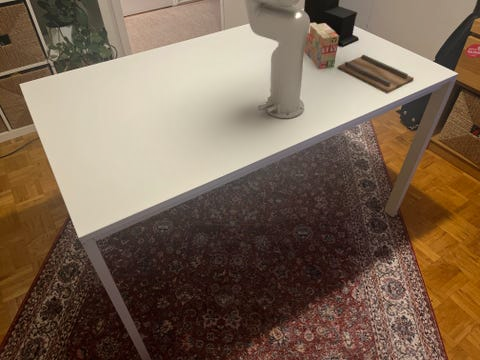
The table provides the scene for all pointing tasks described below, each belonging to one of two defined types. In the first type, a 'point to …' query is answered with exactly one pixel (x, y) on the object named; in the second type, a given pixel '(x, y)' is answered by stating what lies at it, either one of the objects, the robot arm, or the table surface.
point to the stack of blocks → (321, 45)
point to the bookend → (333, 18)
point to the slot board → (376, 73)
